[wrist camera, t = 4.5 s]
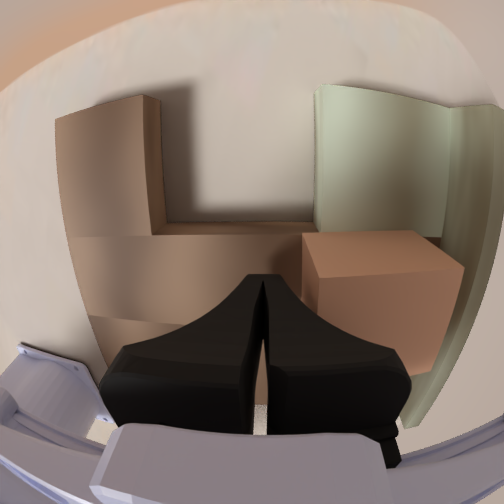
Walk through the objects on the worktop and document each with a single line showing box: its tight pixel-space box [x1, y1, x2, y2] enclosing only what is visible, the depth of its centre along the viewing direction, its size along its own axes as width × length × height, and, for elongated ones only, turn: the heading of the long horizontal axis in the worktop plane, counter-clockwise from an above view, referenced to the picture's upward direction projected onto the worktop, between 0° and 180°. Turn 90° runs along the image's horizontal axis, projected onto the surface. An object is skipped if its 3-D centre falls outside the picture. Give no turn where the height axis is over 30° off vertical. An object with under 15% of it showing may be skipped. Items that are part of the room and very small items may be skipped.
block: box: [301, 230, 465, 376], centre depth 10 cm, size 5×4×4 cm
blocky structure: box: [55, 84, 504, 429], centre depth 11 cm, size 19×16×5 cm
